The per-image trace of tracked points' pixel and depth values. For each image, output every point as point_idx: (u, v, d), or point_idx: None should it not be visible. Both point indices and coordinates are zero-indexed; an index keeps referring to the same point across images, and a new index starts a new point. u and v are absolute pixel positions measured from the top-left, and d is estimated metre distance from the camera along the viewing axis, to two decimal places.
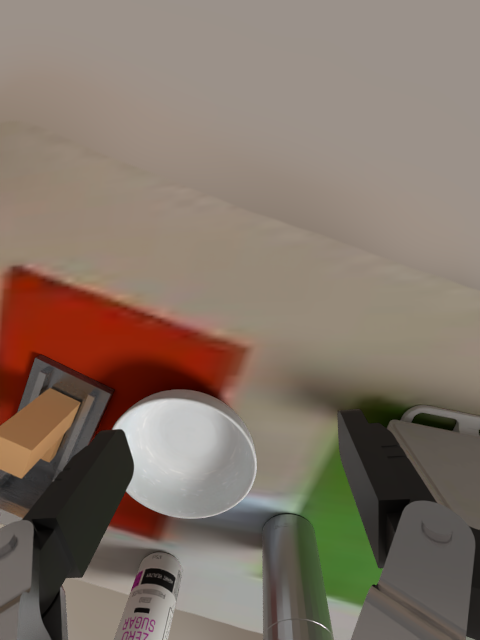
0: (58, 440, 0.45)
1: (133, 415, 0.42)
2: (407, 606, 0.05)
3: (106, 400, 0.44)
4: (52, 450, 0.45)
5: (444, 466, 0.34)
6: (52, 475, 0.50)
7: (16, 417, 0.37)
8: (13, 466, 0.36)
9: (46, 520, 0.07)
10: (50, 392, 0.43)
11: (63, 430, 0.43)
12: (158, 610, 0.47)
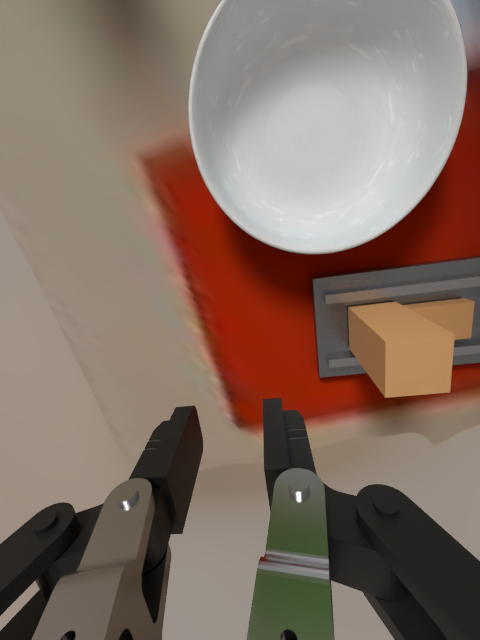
0: (423, 306, 0.30)
1: (311, 236, 0.28)
2: (288, 560, 0.05)
3: (326, 279, 0.31)
4: (446, 306, 0.30)
5: None
6: None
7: (371, 373, 0.27)
8: (434, 353, 0.22)
9: (156, 479, 0.08)
10: (351, 346, 0.32)
11: (393, 309, 0.29)
12: None
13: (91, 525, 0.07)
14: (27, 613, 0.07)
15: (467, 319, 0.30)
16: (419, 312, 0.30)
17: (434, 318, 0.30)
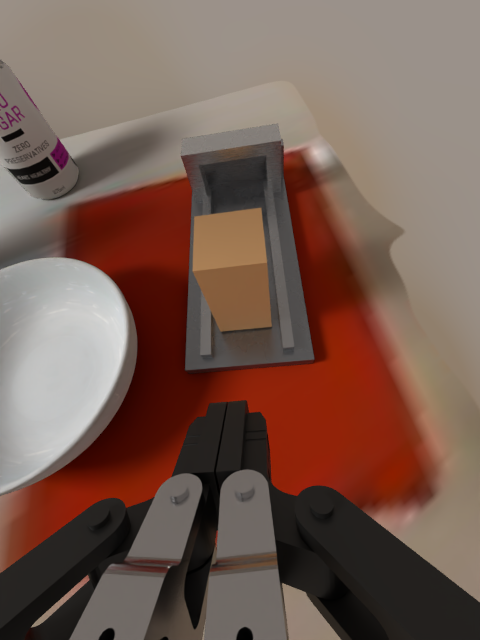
0: None
1: None
2: (238, 561, 0.05)
3: (187, 356, 0.28)
4: None
5: None
6: (217, 209, 0.36)
7: (262, 289, 0.22)
8: (212, 227, 0.21)
9: (203, 474, 0.08)
10: (264, 323, 0.27)
11: None
12: None
13: (142, 520, 0.07)
14: (79, 600, 0.07)
15: None
16: None
17: None
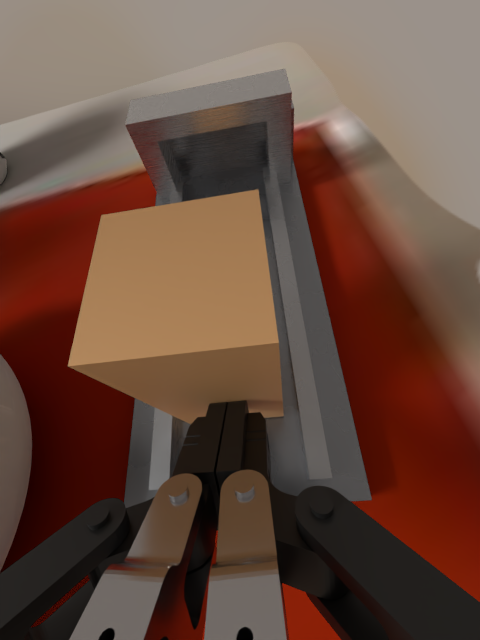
0: None
1: None
2: (239, 561, 0.05)
3: (129, 481, 0.15)
4: None
5: None
6: None
7: (265, 382, 0.09)
8: (138, 241, 0.08)
9: (203, 474, 0.08)
10: (270, 414, 0.15)
11: None
12: None
13: (142, 520, 0.07)
14: (79, 600, 0.07)
15: None
16: None
17: None
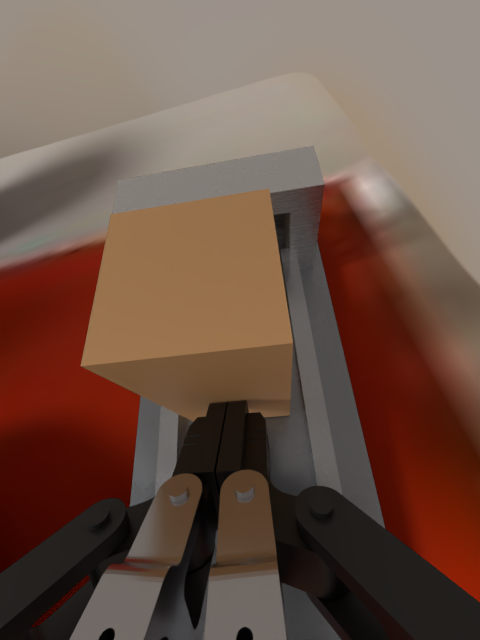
0: None
1: None
2: (239, 561, 0.05)
3: None
4: None
5: None
6: None
7: (275, 382, 0.09)
8: (149, 241, 0.08)
9: (203, 474, 0.08)
10: (276, 413, 0.15)
11: None
12: None
13: (142, 520, 0.07)
14: (79, 600, 0.07)
15: None
16: None
17: None
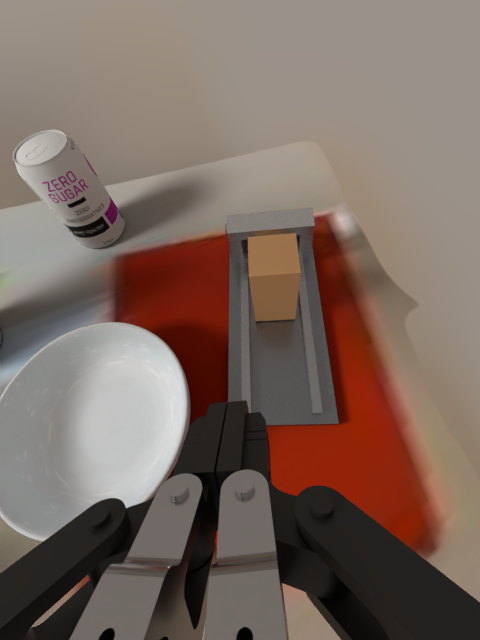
0: None
1: None
2: (238, 561, 0.05)
3: None
4: None
5: None
6: None
7: (293, 290, 0.31)
8: (261, 246, 0.30)
9: (203, 474, 0.08)
10: (290, 316, 0.36)
11: None
12: (61, 210, 0.40)
13: (142, 520, 0.07)
14: (79, 600, 0.07)
15: None
16: None
17: None
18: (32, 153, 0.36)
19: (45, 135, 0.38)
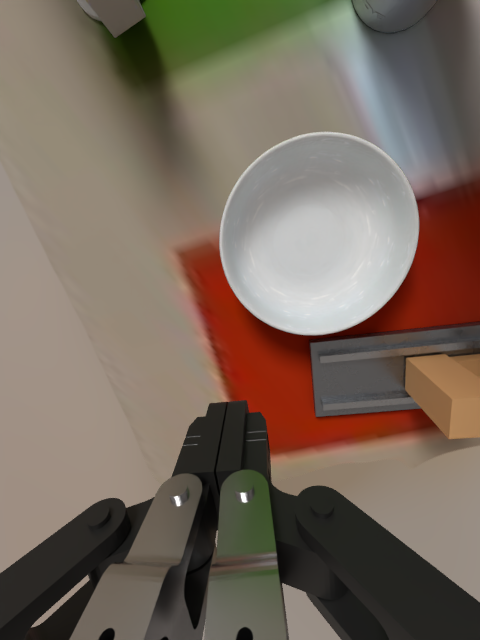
0: (468, 360, 0.38)
1: (309, 316, 0.37)
2: (239, 561, 0.05)
3: (320, 343, 0.40)
4: None
5: None
6: (465, 349, 0.39)
7: (432, 417, 0.34)
8: None
9: (203, 474, 0.08)
10: (408, 389, 0.40)
11: (445, 362, 0.37)
12: None
13: (142, 520, 0.07)
14: (79, 600, 0.07)
15: None
16: (465, 364, 0.38)
17: (477, 369, 0.38)
18: None
19: None
